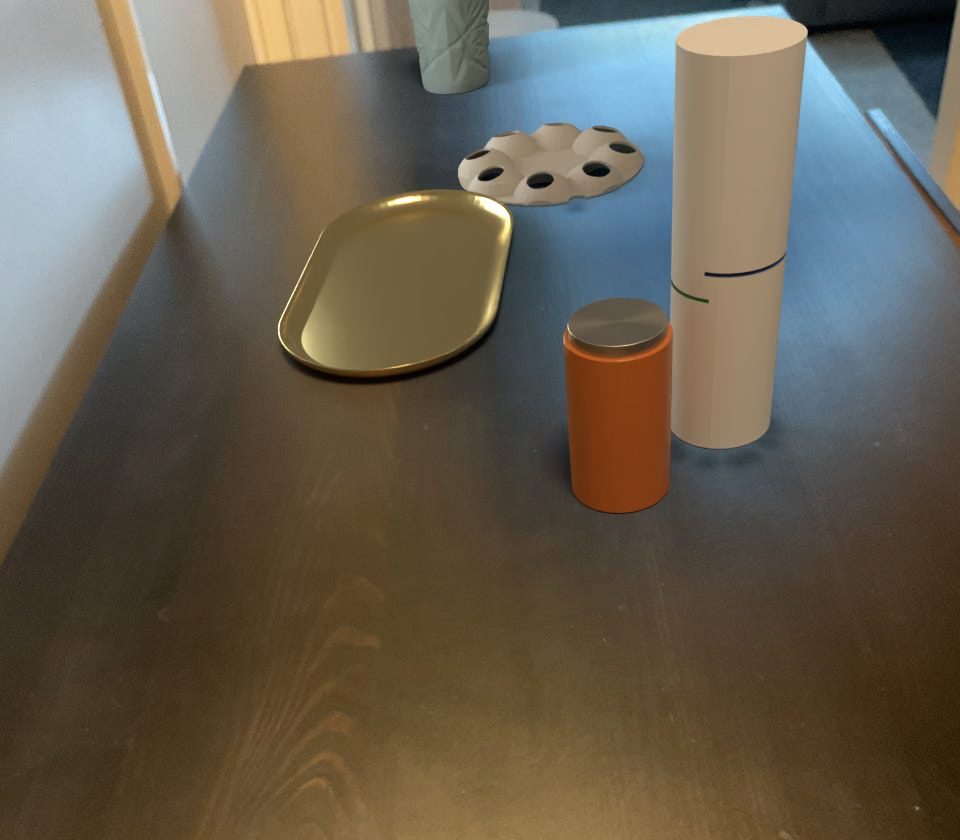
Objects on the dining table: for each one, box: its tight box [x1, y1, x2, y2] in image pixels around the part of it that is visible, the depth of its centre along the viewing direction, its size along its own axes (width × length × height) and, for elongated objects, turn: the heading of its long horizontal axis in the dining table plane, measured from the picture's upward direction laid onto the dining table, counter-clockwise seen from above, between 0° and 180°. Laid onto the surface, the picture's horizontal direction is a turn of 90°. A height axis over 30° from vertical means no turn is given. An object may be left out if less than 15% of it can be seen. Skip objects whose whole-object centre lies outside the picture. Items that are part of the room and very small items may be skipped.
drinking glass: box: [407, 0, 490, 95], centre depth 133 cm, size 10×10×12 cm
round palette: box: [457, 122, 645, 207], centre depth 114 cm, size 20×20×2 cm
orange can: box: [563, 297, 673, 514], centre depth 69 cm, size 7×7×12 cm
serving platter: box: [277, 188, 515, 379], centre depth 97 cm, size 19×35×2 cm, turn 174°
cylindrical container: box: [669, 15, 809, 450], centre depth 69 cm, size 7×7×25 cm
